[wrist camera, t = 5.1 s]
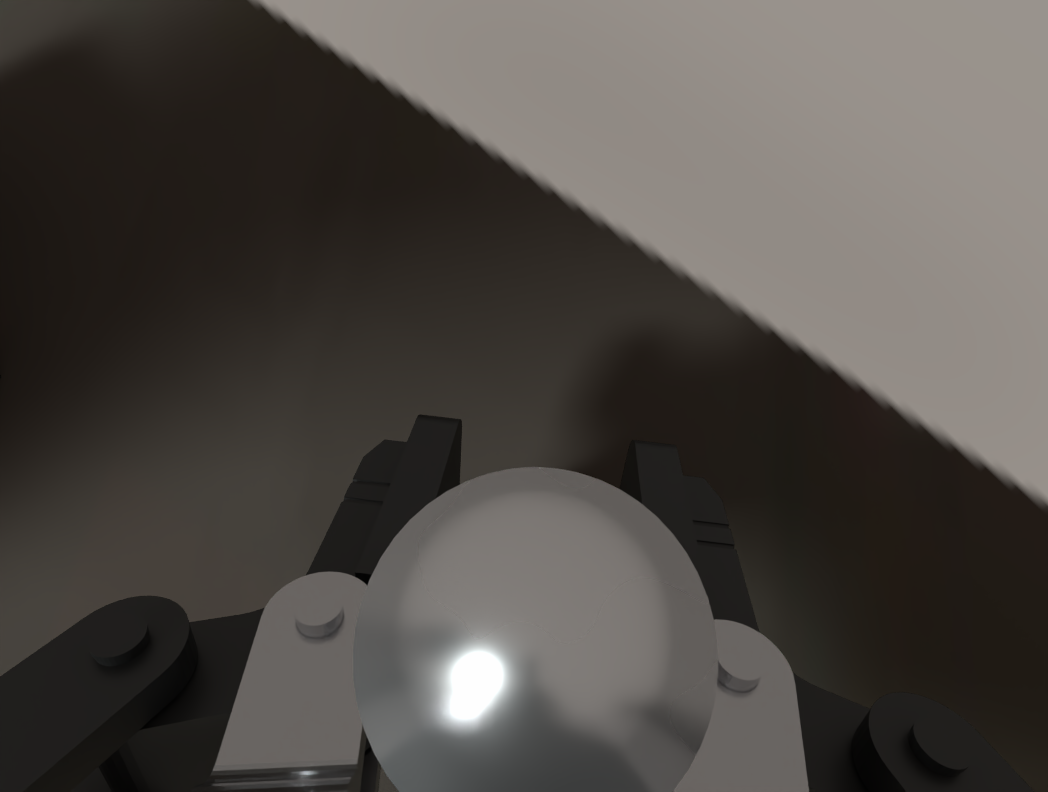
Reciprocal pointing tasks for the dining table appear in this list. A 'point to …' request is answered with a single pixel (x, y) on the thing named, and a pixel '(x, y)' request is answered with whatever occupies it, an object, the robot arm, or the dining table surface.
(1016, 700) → the dining table surface
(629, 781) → the hinge pin
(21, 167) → the dining table surface
